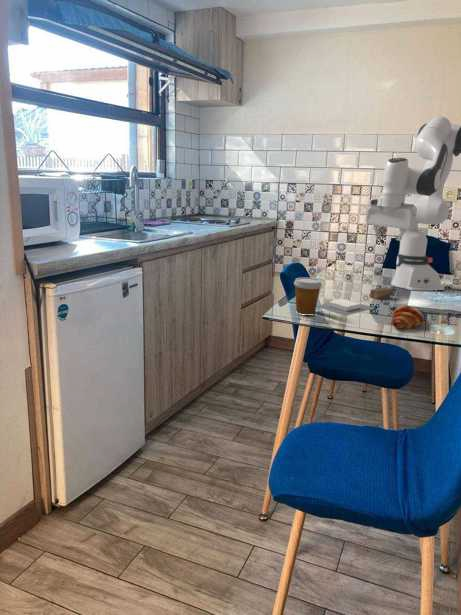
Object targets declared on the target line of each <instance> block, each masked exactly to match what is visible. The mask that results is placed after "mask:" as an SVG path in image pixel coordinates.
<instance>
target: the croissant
mask: <svg viewBox="0 0 461 615" xmlns="http://www.w3.org/2000/svg"><path fill="white" fill-rule="evenodd" d="M391 317H392V318H391V319H392V320H391V324H392V326H393V327H394V328H396V329H403V330H409V329H415V328H417V327H420V325H423V323H424V322H425V317H424V314H423V313H422V312H421V311H420V309H418V308H416V307H413V306H411V305H400V306H397V307H396V308H395V309H394V310H393V312H392V316H391Z"/></svg>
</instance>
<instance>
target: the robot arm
mask: <svg viewBox="0 0 461 615" xmlns="http://www.w3.org/2000/svg"><path fill="white" fill-rule="evenodd" d="M414 149H415V151H416V153H417V154H418V156H419V157H421V158H422V159H425V160H426V162H425V164H424V165H423V167H422V168H421V167H417V168H416V167H409V159H407V158H405V157H393V158H389V159H388V160H387V161H386V164H385V167H384V170H383V171H384V172H383V176H382V190H381V194H380V196H378V197H376V198H371V199H369V201H368V207H367V208H366V213H365V214H366V215H365V224H367V225H372V228H373V231H374V237H375V238H380V237H381V234H382V233H381V232H380V231H379V228H380V227H388V228H393V229H394V228H395V229H398V230H399V231H398V232H399V233H398V235H396V236H395V240H396V241H399V249H398V253H397V256H396V264H395V265H396V267H395V268H396V269H395V272H394V276H393V278H392V280H391V283H390V284H391V285H392V286H393V287H396V288H397V287H398V288H401V289H405V290H409V291H431V292H432V291H433V290H435V291H436V292H438V291H437V290H444V291H445V286H444V285H443V284H441V277H440V274H439V273H438V272H437V271H436V270H435V269H434V268H433V267H432V266H431V265H430V264H429V263H433V258H432V257H429V256H428V255H426V253H427V252H426V251H427V246H428V237H427V236H426V234H425V233H423V232H422V230H421V231H420V228H419V226H418V224H423V225H431V226H432V225H441V224H443V223H444V222H445V221H446V220H447V219H448V216H449V214H450V207H449V205H448V203H447V201H446V200H445V199H444V198H443V190H444V187H445V184H446V182H447V179H448V177H449V175H450V172H451V169H452V166H453V161H454V157H459V155H460V154H461V125H458V124H453V123H451V121H450V119H449V118H447V117H445V116H441V115H439V116H436V117H433V118H432V119H430V120H429V121H428V122H427V123H424V124H423V125H422V126H420V127H419V129H418V133H417V136H416V138H415V142H414ZM407 195H420V196H407ZM435 291H434V292H435Z"/></svg>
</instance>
